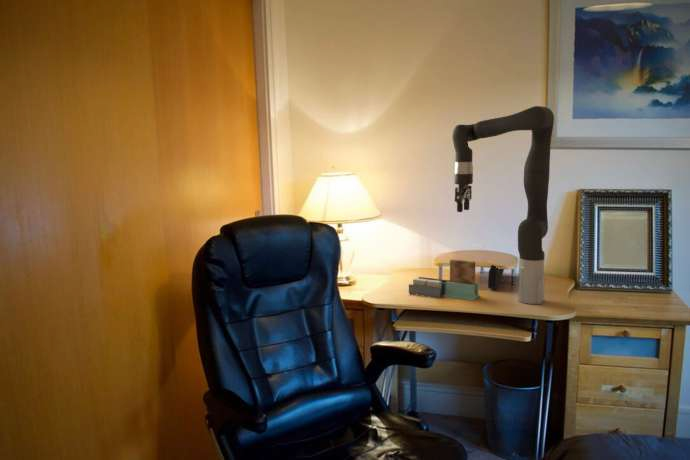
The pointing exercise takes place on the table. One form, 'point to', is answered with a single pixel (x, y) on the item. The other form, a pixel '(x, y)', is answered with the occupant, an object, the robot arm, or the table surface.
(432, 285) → the offcut
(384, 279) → the table surface
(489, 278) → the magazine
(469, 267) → the walnut panel
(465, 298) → the green rectangular block
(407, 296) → the table surface
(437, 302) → the table surface
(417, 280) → the offcut
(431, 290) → the offcut rack
